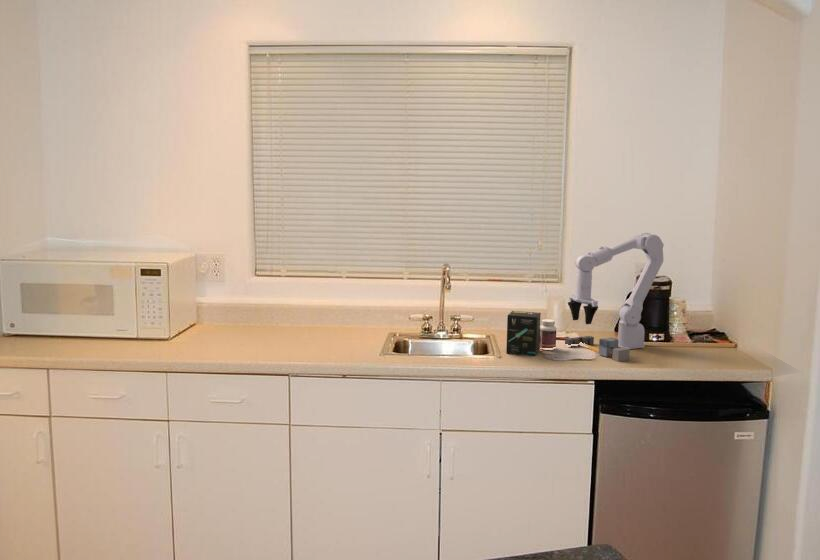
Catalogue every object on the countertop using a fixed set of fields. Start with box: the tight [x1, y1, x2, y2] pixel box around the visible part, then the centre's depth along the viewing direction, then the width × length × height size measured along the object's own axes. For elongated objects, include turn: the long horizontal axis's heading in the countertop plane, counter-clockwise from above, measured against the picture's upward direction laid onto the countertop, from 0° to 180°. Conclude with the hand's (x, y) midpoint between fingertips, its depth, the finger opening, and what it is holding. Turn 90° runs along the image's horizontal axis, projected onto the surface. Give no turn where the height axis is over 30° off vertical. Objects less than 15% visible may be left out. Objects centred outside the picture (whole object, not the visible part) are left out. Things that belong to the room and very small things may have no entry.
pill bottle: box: [540, 318, 557, 348], centre depth 269 cm, size 6×6×11 cm
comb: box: [564, 335, 595, 346], centre depth 276 cm, size 12×2×3 cm, turn 116°
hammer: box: [579, 342, 631, 362], centre depth 265 cm, size 5×26×4 cm, turn 26°
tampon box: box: [505, 310, 541, 357], centre depth 264 cm, size 11×9×15 cm
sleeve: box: [598, 337, 619, 358], centre depth 261 cm, size 5×4×6 cm
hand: (581, 321), depth 274 cm, fingers open, 7 cm apart
